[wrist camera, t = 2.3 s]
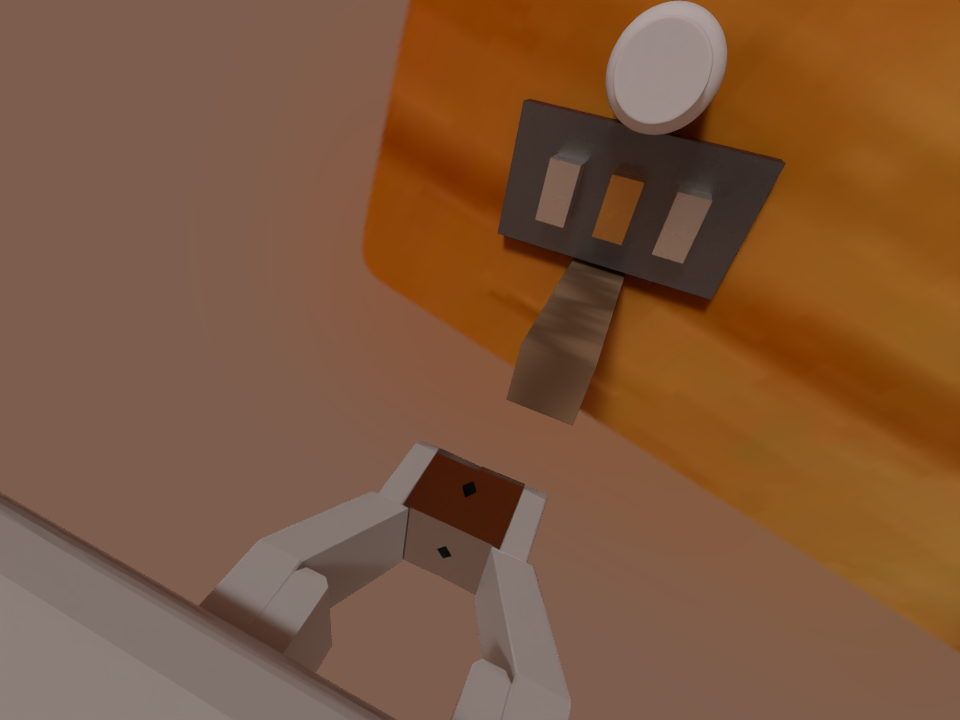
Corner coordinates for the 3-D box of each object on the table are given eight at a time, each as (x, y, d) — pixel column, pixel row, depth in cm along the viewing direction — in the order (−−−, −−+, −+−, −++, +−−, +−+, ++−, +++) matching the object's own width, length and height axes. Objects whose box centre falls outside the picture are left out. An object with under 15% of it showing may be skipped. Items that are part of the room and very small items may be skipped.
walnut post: (625, 272, 34) (595, 370, 23) (607, 317, 36) (572, 425, 25) (574, 256, 34) (521, 343, 23) (560, 301, 37) (506, 399, 26)
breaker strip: (781, 159, 27) (791, 169, 24) (710, 291, 32) (712, 312, 29) (530, 99, 30) (514, 102, 27) (503, 228, 35) (488, 241, 33)
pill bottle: (662, 142, 28) (652, 169, 21) (602, 81, 28) (570, 85, 20) (741, 62, 25) (763, 59, 18) (675, -10, 25) (668, -44, 17)
